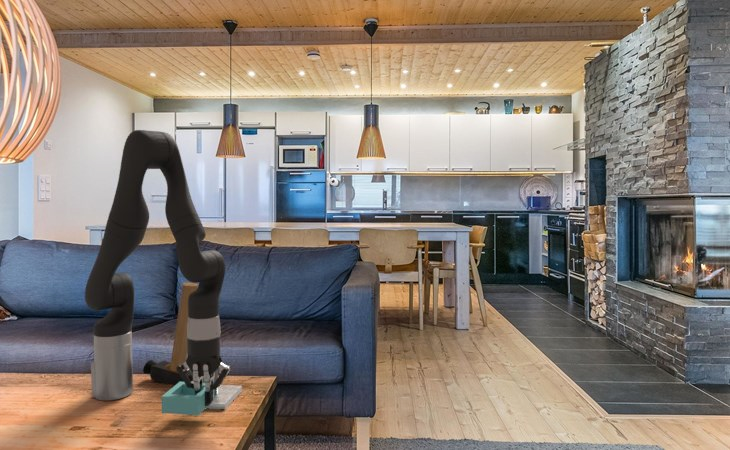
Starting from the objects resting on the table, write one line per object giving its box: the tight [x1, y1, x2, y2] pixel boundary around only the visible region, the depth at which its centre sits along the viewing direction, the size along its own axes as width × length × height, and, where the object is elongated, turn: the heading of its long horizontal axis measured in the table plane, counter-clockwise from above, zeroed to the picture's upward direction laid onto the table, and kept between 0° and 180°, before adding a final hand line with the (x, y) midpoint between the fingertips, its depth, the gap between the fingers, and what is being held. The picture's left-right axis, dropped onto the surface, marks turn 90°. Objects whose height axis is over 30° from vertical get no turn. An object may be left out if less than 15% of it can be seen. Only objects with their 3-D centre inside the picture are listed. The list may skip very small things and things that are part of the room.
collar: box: [161, 382, 214, 416], centre depth 117 cm, size 9×9×4 cm
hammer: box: [142, 282, 204, 386], centre depth 140 cm, size 20×5×30 cm, turn 76°
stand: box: [206, 368, 243, 411], centre depth 129 cm, size 12×12×8 cm
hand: (204, 404), depth 116 cm, fingers closed on collar, 1 cm apart
